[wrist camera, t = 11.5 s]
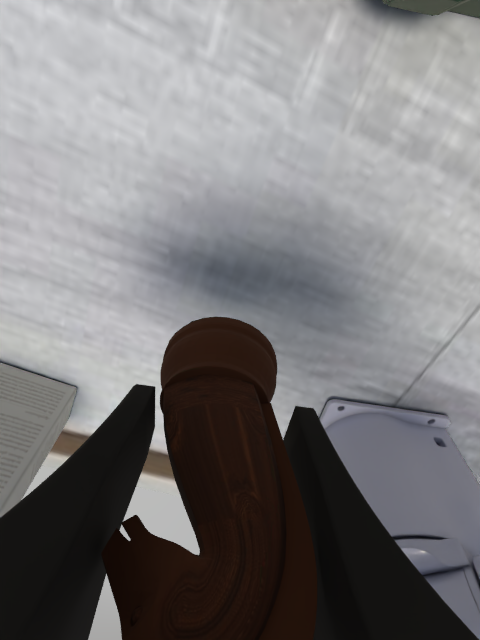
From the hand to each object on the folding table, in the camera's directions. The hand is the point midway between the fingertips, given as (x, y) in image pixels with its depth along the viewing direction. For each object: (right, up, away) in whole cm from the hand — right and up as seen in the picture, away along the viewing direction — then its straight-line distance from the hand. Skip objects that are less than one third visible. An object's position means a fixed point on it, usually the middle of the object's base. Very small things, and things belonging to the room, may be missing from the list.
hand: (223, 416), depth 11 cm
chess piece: (0, +2, +3) cm, 3 cm away
